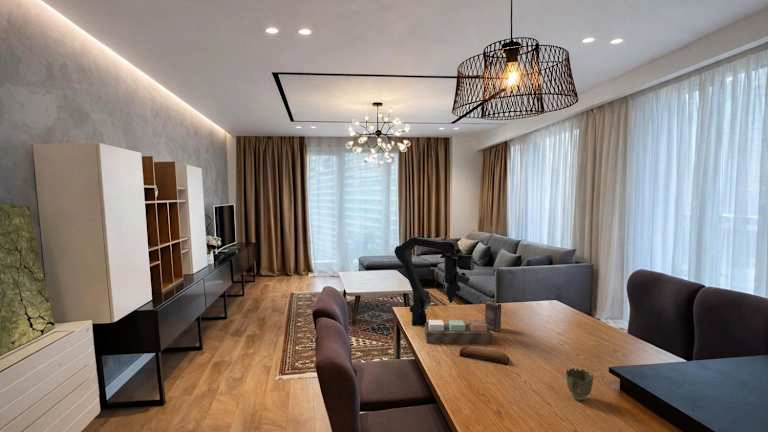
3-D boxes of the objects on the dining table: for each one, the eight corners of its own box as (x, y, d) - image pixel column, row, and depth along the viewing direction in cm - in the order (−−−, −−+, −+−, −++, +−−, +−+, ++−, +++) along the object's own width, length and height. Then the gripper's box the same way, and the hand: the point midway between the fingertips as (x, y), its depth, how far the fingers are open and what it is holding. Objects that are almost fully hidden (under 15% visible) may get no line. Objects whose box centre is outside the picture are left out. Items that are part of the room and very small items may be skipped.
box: (501, 329, 169) (501, 303, 169) (495, 331, 167) (496, 305, 166) (490, 325, 174) (490, 300, 173) (484, 328, 171) (484, 302, 170)
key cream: (429, 335, 156) (429, 324, 156) (428, 329, 162) (428, 319, 162) (443, 335, 156) (443, 324, 156) (442, 329, 162) (442, 319, 162)
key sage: (450, 335, 156) (451, 324, 156) (448, 330, 162) (449, 320, 162) (465, 335, 156) (465, 325, 155) (462, 330, 162) (462, 320, 161)
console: (426, 343, 154) (426, 332, 154) (424, 333, 165) (424, 323, 164) (491, 343, 153) (491, 333, 153) (485, 334, 164) (485, 324, 164)
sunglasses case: (510, 355, 142) (509, 344, 138) (508, 371, 136) (508, 360, 133) (463, 348, 149) (461, 337, 146) (460, 363, 144) (458, 352, 140)
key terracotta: (472, 335, 156) (472, 325, 155) (469, 330, 162) (469, 320, 161) (486, 335, 155) (486, 325, 155) (483, 330, 161) (483, 320, 161)
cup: (560, 392, 115) (561, 368, 115) (582, 391, 116) (583, 367, 116) (574, 406, 108) (575, 380, 108) (598, 405, 109) (599, 378, 108)
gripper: (472, 272, 158) (472, 308, 159) (464, 264, 176) (464, 296, 177) (446, 272, 158) (446, 308, 159) (441, 264, 177) (441, 296, 178)
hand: (450, 302), depth 168 cm, fingers open, 3 cm apart
